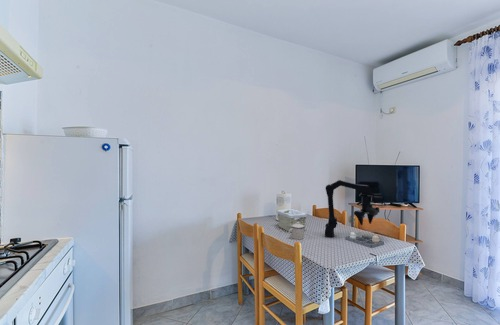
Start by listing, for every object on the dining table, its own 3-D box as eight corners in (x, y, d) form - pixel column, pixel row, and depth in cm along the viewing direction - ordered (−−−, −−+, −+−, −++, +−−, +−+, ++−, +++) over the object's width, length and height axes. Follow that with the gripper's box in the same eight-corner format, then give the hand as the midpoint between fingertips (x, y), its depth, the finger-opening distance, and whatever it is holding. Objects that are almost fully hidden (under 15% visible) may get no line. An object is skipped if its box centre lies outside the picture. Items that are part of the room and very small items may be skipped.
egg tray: (371, 249, 157) (371, 244, 157) (345, 240, 174) (345, 236, 174) (383, 245, 163) (383, 241, 163) (357, 237, 181) (357, 233, 181)
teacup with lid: (300, 235, 187) (300, 220, 187) (306, 239, 179) (306, 223, 179) (286, 237, 184) (286, 221, 184) (291, 240, 175) (291, 224, 175)
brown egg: (376, 245, 162) (376, 236, 162) (370, 243, 166) (370, 235, 166) (380, 244, 164) (380, 235, 164) (374, 242, 168) (374, 234, 168)
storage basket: (276, 226, 215) (276, 209, 215) (292, 224, 221) (292, 208, 221) (290, 233, 193) (289, 215, 193) (307, 231, 198) (307, 213, 198)
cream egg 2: (359, 239, 173) (359, 231, 173) (354, 238, 177) (354, 230, 177) (363, 238, 175) (363, 231, 175) (358, 237, 179) (358, 229, 179)
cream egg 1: (353, 241, 170) (353, 233, 170) (348, 239, 174) (348, 231, 174) (357, 240, 172) (357, 232, 172) (352, 238, 176) (352, 230, 176)
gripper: (367, 205, 163) (367, 228, 163) (385, 203, 172) (384, 225, 172) (353, 203, 173) (353, 224, 173) (370, 201, 182) (370, 222, 182)
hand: (365, 224), depth 175 cm, fingers open, 9 cm apart
